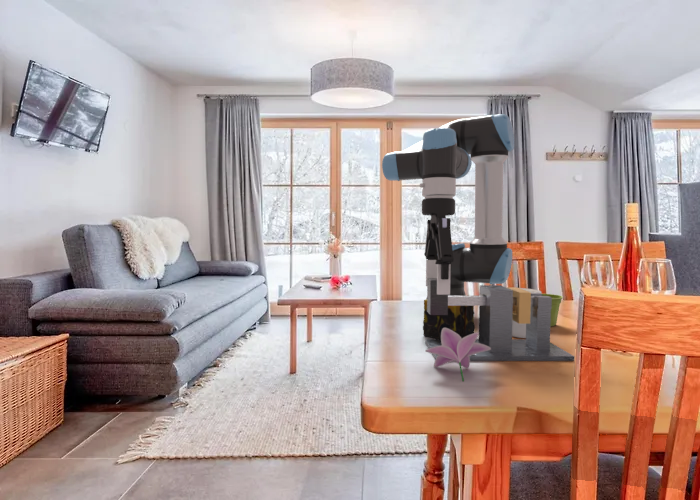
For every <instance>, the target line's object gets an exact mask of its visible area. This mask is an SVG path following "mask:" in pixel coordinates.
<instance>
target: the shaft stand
mask: <svg viewBox="0 0 700 500" xmlns="http://www.w3.org/2000/svg"><path fill="white" fill-rule="evenodd" d="M543 294H544V293H531V296H535V298H534V306H531V311H530V324H526V338H518V339H516V338H514V339H513V337H512V313H513V290H511V289H508V288H507V287H505V286H503V285H502V284H486V285H483V284H481V285H479V295H478V296H487V297H486V306H478V307H479V309H478V310H479V313H478V333H479V335H478V338H477V339H476V341H475V343H480V344H484V345H486V346H488V347H490V348H491V350H488V351H484V352H480V353H476V354H473V355H471V356H469V357H470V361H471V362H475V361H477V362H479V361H480V362H481V361H482V362H483V361H485V362H486V361H487V362H501V361H502V362H507V361H509V362H518V361H519V362H526V361H527V362H532V361H533V362H574V361H575V355H573V354H571V353H570V352H568V351H566V350H564V349H563V348H561V347H559V346H557V345H556V344H554V343H552V342H551V326H550V323H551V308H552V297H549V296H543ZM424 341H425V342H424V343H425V345H426V346H427V349H429V348H432V347H436V346H442V344H441V339H435V338H431V339H430V338H425V339H424ZM431 354H432V353H431ZM432 356H433V357H434V360H436V358H437V356H438V355H436V354H432Z"/></svg>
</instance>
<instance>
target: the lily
mask: <svg viewBox="0 0 700 500" xmlns="http://www.w3.org/2000/svg"><path fill="white" fill-rule="evenodd" d="M478 338H479V331H478V332H474V333H473V334H470V335H468V336H465V337H464V338H461V337H460V336H459V335H458V334H457V333H456V332H454V331H452V330H450V329H448V328H443V329H442V331H441V344H442V346H436V347H432V348H427V349H425V352H426V353H429V354H436V355H438V356H437V358H436V359H434V360H435V361H434V364H433V368H439V367H441V366H444V365H446V364H449V363H451V362H454V363H456V364H458V365H459V371H460V375H461V380H462V382H464V381H465V379H464V378H465V377H464V374H463V368H465V369H469V368H470V363H471V362H470V357H469V356H471V355H473V354H476V353H480V352H484V351H488V350H491V348H490V347H488V346H486V345H484V344H480V343H475V341H476V339H478Z"/></svg>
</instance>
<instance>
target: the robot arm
mask: <svg viewBox="0 0 700 500" xmlns="http://www.w3.org/2000/svg"><path fill="white" fill-rule="evenodd" d="M514 149H515V136H514V130H513V125H512V121H511V119H510V117H509V115H508V114H505V113H498V114H494V113H492V114H488V115H482V116H475V117H465V118H459V119H456V120H453V121H450V122H448V123H445V124H444V125H441V126H440V127H437V128H430V129H428V130H426V131H424V133H423V135H422V140H421V141H419V142H417V143H415V144H413V145H411V146H410V147H408V148H406V149H404V150H401V151H393V152H388V153H385V155H384V156H383V158H382V162H381V163H382V164H381V169H382V174H383V176H384V178H385V179H386V180H387V181H395V182H396V181H397V182H400V181H410V180H411V181H412V180H422V182H421V183H419V187H420V188H422V190H421V194H422V195H421V196H422V197H424V198H423V199H422V200H421V215H423V216H430V219H427V220H426V221H427V222H426V223H427V228H426V238H425V249H424V257H425V259H426V261H425V286H426V287H427V278H437V295H448V296H467V295H466V292H465V283H473V284H474V283H476V284H477V283H478V284H479V283H480V284H489V285H503V284H505V283H506V282H507V280H509V279H508V278H509V277H510V272H511V269H512V263H513V250H512V248H510V247H508V242H507V241H506V240H505V239H504V238H503V206H504V205H503V199H504V198H503V197H504V194H503V193H504V192H503V191H504V163H505V161H506V160H507V159H509V152H512V151H514ZM472 163H473V164H475V165H474V169H475V170H474V171H475V172H474V175H475V176H474V177H475V178H474V179H475V180H474V238H472V240H471V241H470V242H469V247H466V245H465V243H453V239H452V231H451V218H449V217H448V216H453V215H455V214H456V199H455V198H454V197H455V196H456V193H457V192H456V190H457V189H456V187H457V186H456V185H457V182H456V180H458V179H462V178H464V177H466V175H467V174H469V173H470V170H471V168H472ZM426 299H427V297H426ZM426 299H425V300H426Z"/></svg>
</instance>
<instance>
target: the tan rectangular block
mask: <svg viewBox="0 0 700 500" xmlns="http://www.w3.org/2000/svg"><path fill="white" fill-rule="evenodd" d="M506 288H508V289H511V290H513V297H516V298H517V306H513V313H512V320H514V321H515V322H517V323H519V324H530V311H531V292H528V291H525V290H523V289H520V288H521V287H515V286H513V287H506Z"/></svg>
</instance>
